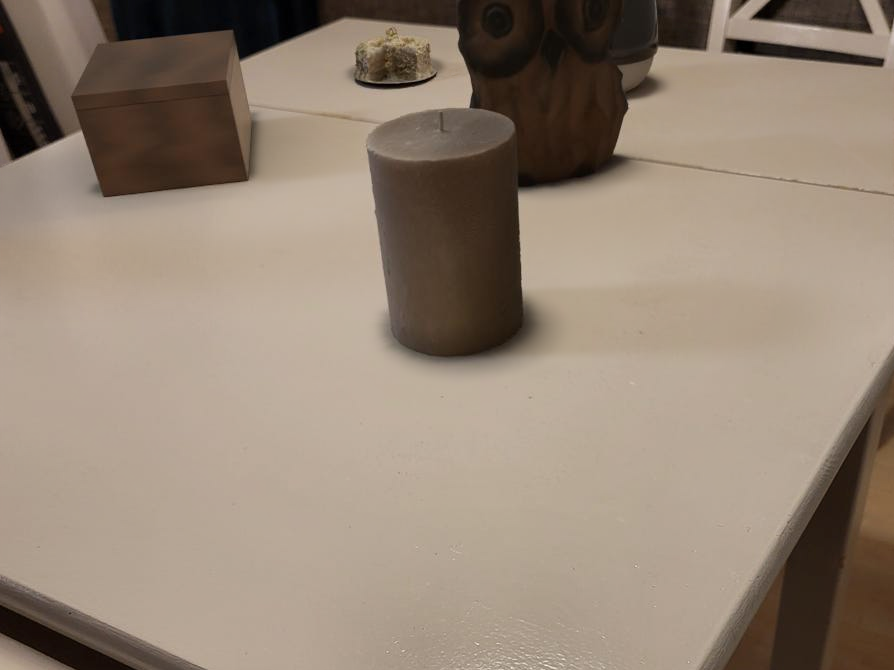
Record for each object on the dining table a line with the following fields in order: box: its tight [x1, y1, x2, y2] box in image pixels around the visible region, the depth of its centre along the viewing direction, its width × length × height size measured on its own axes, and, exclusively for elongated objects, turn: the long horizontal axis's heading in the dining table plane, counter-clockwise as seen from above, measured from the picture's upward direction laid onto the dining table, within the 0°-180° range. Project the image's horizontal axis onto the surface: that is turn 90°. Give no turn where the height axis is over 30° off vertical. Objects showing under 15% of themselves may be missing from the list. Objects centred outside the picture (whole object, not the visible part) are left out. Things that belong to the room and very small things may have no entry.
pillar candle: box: [364, 107, 524, 358], centre depth 66 cm, size 10×10×15 cm
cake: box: [353, 26, 437, 85], centre depth 115 cm, size 10×10×5 cm
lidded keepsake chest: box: [70, 29, 253, 198], centre depth 98 cm, size 14×18×9 cm
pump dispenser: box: [610, 0, 659, 93], centre depth 104 cm, size 10×10×15 cm
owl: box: [455, 0, 630, 188], centre depth 84 cm, size 13×13×20 cm
